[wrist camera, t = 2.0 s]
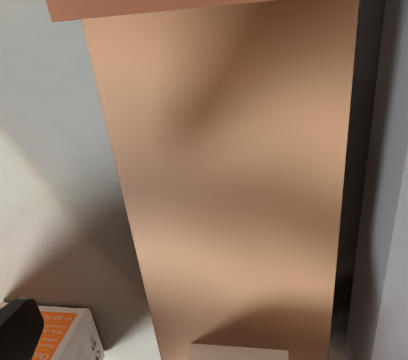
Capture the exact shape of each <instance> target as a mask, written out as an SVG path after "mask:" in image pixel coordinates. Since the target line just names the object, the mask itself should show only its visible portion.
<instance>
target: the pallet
mask: <svg viewBox="0 0 408 360" xmlns="http://www.w3.org/2000/svg"><path fill="white" fill-rule="evenodd" d="M358 10H359V0H273V1H263V2H253V3H242V4H232V5H222V6H212V7H201V8H191V9H181V10H170V11H160V12H150V13H140V14H129V15H119V16H109V17H98V18H88V19H81V20H82V24H83V28H84V33H85V37H86V41H87V45H88V50H89V54H90V58H91V62H92V67H93V71H94V75H95V79H96V84H97V88H98V92H99V96H100V101H101V105H102V109H103V113H104V118H105V122H106V126H107V130H108V135H109V139H110V143H111V147H112V152H113V156H114V160H115V164H116V169H117V173H118V177H119V181H120V186H121V190H122V194H123V198H124V203H125V207H126V211H127V215H128V220H129V224H130V228H131V232H132V237H133V241H134V245H135V249H136V254H137V258H138V262H139V266H140V271H141V275H142V279H143V283H144V288H145V292H146V296H147V300H148V305H149V309H150V313H151V317H152V322H153V326H154V330H155V334H156V339H157V343H158V347H159V351H160V356H161V360H187V356H188V352H189V347H190V343H193V344H207V345H221V346H234V347H248V348H262V349H276V350H288V358H289V360H328V356H329V344H330V332H331V321H332V309H333V298H334V286H335V275H336V263H337V252H338V240H339V229H340V217H341V206H342V194H343V183H344V171H345V160H346V148H347V137H348V125H349V114H350V102H351V91H352V79H353V68H354V56H355V45H356V33H357V22H358Z"/></svg>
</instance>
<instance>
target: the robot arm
mask: <svg viewBox="0 0 408 360" xmlns="http://www.w3.org/2000/svg"><path fill="white" fill-rule="evenodd" d="M43 329H44V319H43V317H42V314H41V312H40V309H39V307H38V305H37V302H36V301H35V300H34V299H33V298H25V297H19V298H16V299H14V300H13V301H11V302H9V303H8V304H6V305H5V306H3V307H2V308H0V360H32V358H33V355H34V353H35V350H36V348H37V345H38V342H39V340H40V337H41V335H42V332H43Z"/></svg>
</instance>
